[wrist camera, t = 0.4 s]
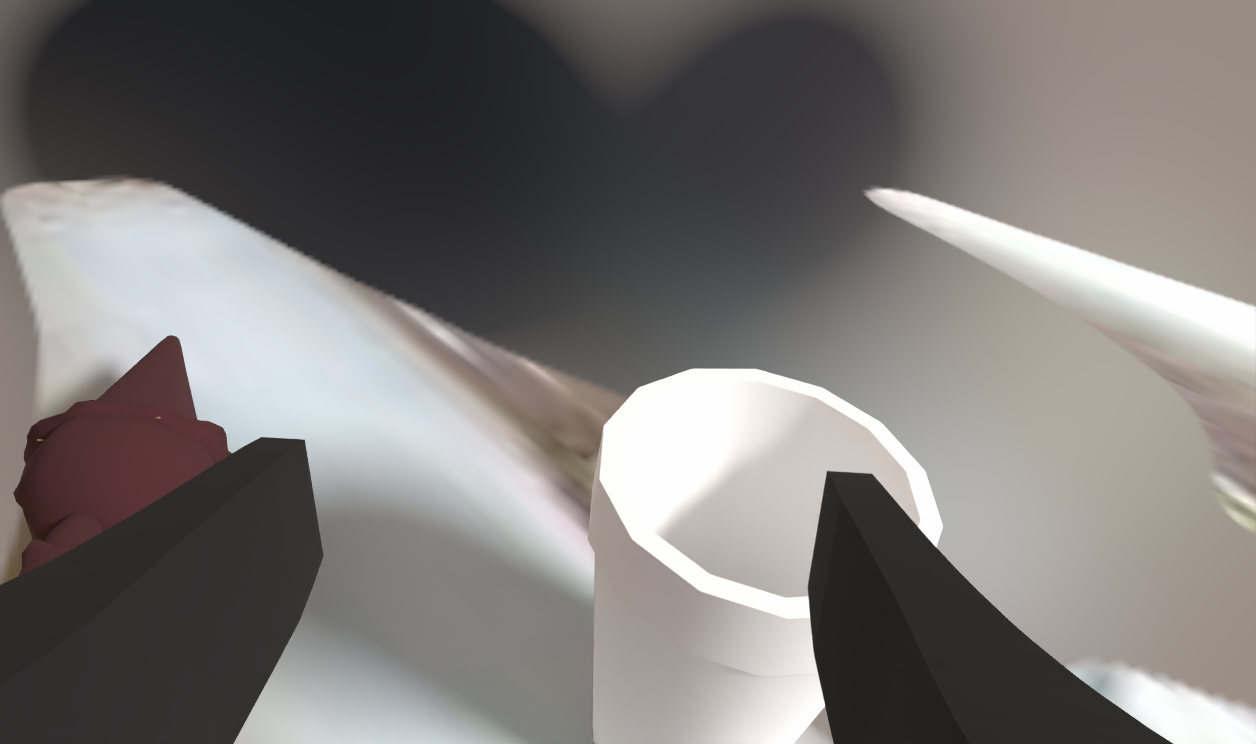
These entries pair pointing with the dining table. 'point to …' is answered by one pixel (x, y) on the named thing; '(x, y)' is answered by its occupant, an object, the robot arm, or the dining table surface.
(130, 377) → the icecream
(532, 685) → the dining table surface
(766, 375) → the foam cup
